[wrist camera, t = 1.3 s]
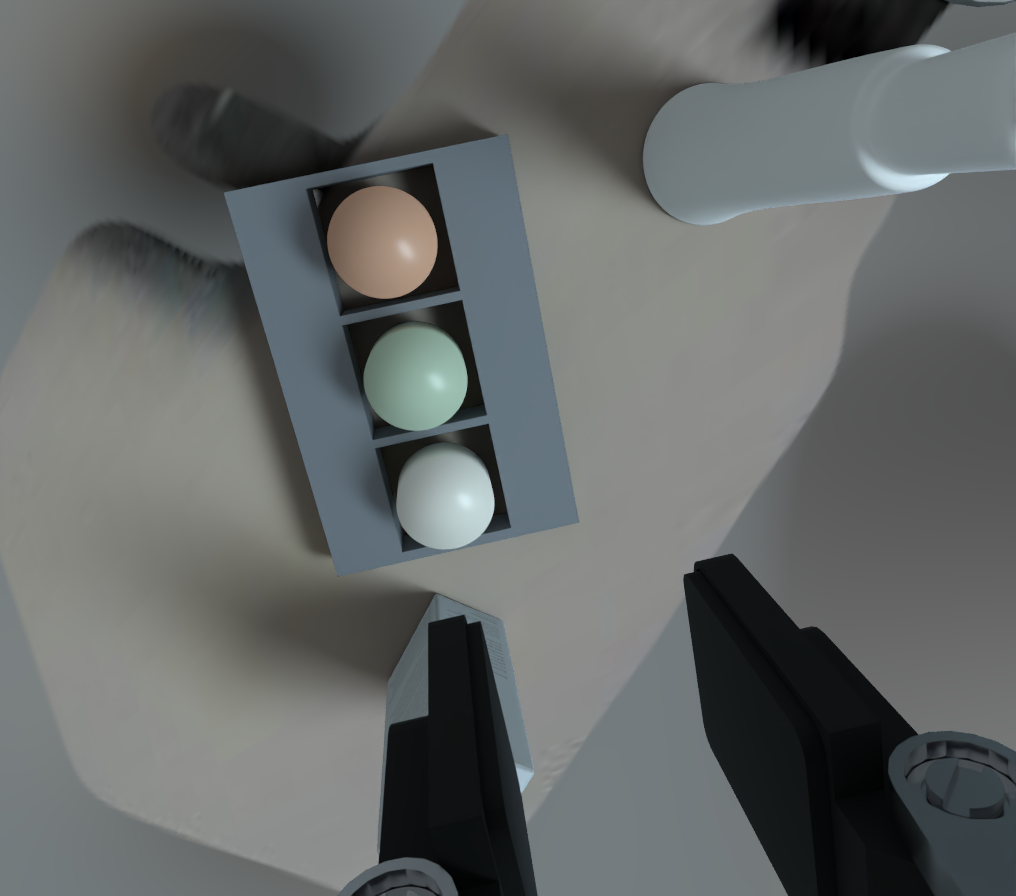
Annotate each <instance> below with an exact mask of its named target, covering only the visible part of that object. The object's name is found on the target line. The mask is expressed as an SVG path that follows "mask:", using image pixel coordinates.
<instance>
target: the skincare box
mask: <svg viewBox="0 0 1016 896" xmlns="http://www.w3.org/2000/svg"><path fill="white" fill-rule="evenodd" d="M460 615H465V617H466V620H467V624H469V623H473V622H478V621H481V624H482V628H483V632H484V636H485V640H486V644H487V648H488V653H489V657H490V661H491V665H492V669H493V674H494V678H495V682H496V686H497V691H498V695H499V699H500V703H501V707H502V712H503V716H504V720H505V724H506V728H507V733H508V737H509V741H510V745H511V749H512V754H513V758H514V762H515V766H516V771H517V775H518V780H519V785H520V791H521V794H522V792H523V790H524V789H525V787H526V785H527V784H528V782H529V780H530V779H531V777H532V776H533V774H534V767H533V762H532V757H531V752H530V748H529V743H528V738H527V733H526V729H525V724H524V719H523V714H522V709H521V704H520V700H519V695H518V690H517V685H516V680H515V675H514V670H513V665H512V661H511V656H510V651H509V646H508V641H507V637H506V632H505V627H504V623H503V622H502V621H501V620H500V619H497V618H494V617H492V616H489V615H487V614H484V613H482V612H480V611H477V610H475V609H472V608H470V607H467V606H465V605H462V604H460V603H458V602H456V601H453V600H451V599H449V598H446V597H444V596H442V595H439V594H435V595H434V597H433V599H432V601H431V603H430V605H429V607H428V609H427V610H426V612H425V614H424V616H423V618H422V620H421V621H420V623H419V625H418V627H417V629H416V631H415V632H414V634H413V636H412V638H411V640H410V642H409V644H408V646H407V647H406V649H405V651H404V653H403V655H402V657H401V658H400V660H399V662H398V664H397V666H396V668H395V670H394V671H393V673H392V675H391V677H390V679H389V681H388V686H387V702H386V718H385V735H384V751H383V766H382V781H381V797H380V810H379V824H378V844H377V852H378V854H379V852H380V838H381V824H382V810H383V797H384V783H385V769H386V755H387V741H388V731H389V726H390V725H391V724H393V723H397V722H401V721H406V720H410V719H414V718H419V717H423V716H427V715H428V623H429V622H433V621H438V620H442V619H446V618H451V617H455V616H460Z"/></svg>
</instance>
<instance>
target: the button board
mask: <svg viewBox="0 0 1016 896" xmlns="http://www.w3.org/2000/svg"><path fill="white" fill-rule="evenodd" d="M430 165H433V169H434V174H435V178H436V183H437V188H438V192H439V197H440V202H441V206H442V211H443V216H444V220H445V225H446V230H447V234H448V239H449V244H450V248H451V253H452V258H453V262H454V267H455V272H456V276H457V281H458V287H453V288H448V289H444V290H439V291H434V292H430V293H425V294H420V295H415V296H411V297H406V298H401V299H397V300H392V301H387V302H382V303H378V304H373V305H368V306H364V307H359V308H354V309H350V310H345V311H344V308H343V304H342V300H341V297H340V293H339V289H338V285H337V281H336V277H335V274H334V270H333V266H332V262H331V259H330V256H329V252H328V247H327V243H326V239H325V236H324V232H323V228H322V224H321V220H320V217H319V213H318V209H317V205H316V201H315V198H314V194H313V189H318V188H323V187H328V186H333V185H338V184H343V183H347V182H352V181H357V180H362V179H367V178H372V177H376V176H381V175H386V174H391V173H396V172H401V171H405V170H410V169H415V168H420V167H425V166H430ZM224 196H225V199H226V202H227V205H228V209H229V213H230V216H231V219H232V223H233V225H234V229H235V233H236V236H237V239H238V243H239V246H240V250H241V253H242V256H243V260H244V263H245V266H246V270H247V273H248V276H249V280H250V283H251V286H252V290H253V293H254V297H255V300H256V303H257V307H258V310H259V313H260V317H261V320H262V323H263V327H264V330H265V334H266V337H267V340H268V344H269V347H270V350H271V354H272V357H273V360H274V364H275V367H276V371H277V374H278V377H279V381H280V384H281V387H282V391H283V394H284V397H285V401H286V404H287V408H288V411H289V414H290V418H291V421H292V424H293V428H294V431H295V434H296V438H297V441H298V445H299V448H300V451H301V455H302V458H303V461H304V465H305V468H306V471H307V475H308V478H309V481H310V485H311V488H312V492H313V495H314V498H315V502H316V505H317V508H318V512H319V515H320V518H321V522H322V525H323V529H324V532H325V535H326V539H327V542H328V545H329V549H330V552H331V555H332V559H333V562H334V566H335V569H336V572H337V576H343V575H347V574H352V573H356V572H361V571H365V570H369V569H374V568H378V567H383V566H387V565H392V564H396V563H401V562H405V561H410V560H414V559H418V558H423V557H427V556H432V555H436V554H441V553H445V552H450V551H454V550H459V549H463V548H467V547H472V546H476V545H481V544H485V543H490V542H494V541H499V540H503V539H508V538H512V537H516V536H521V535H525V534H530V533H534V532H539V531H543V530H548V529H552V528H557V527H561V526H565V525H570V524H574V523H579V519H578V514H577V508H576V503H575V498H574V492H573V487H572V481H571V476H570V470H569V465H568V459H567V454H566V449H565V443H564V438H563V432H562V427H561V421H560V416H559V411H558V405H557V400H556V394H555V389H554V383H553V378H552V372H551V367H550V362H549V356H548V351H547V345H546V340H545V334H544V329H543V323H542V318H541V313H540V307H539V302H538V296H537V291H536V285H535V280H534V275H533V269H532V264H531V258H530V253H529V247H528V242H527V236H526V231H525V226H524V220H523V215H522V209H521V204H520V198H519V193H518V187H517V182H516V177H515V171H514V166H513V160H512V155H511V149H510V144H509V139H508V134H506V135H501V136H496V137H491V138H486V139H481V140H477V141H472V142H467V143H462V144H457V145H452V146H447V147H443V148H438V149H433V150H428V151H423V152H418V153H413V154H409V155H404V156H399V157H394V158H389V159H384V160H379V161H375V162H370V163H365V164H360V165H355V166H350V167H345V168H341V169H336V170H331V171H326V172H321V173H316V174H311V175H307V176H302V177H297V178H292V179H287V180H282V181H277V182H273V183H268V184H263V185H258V186H253V187H248V188H243V189H239V190H234V191H229V192H224ZM459 300H462V304H463V309H464V314H465V318H466V323H467V327H468V332H469V337H470V341H471V346H472V351H473V355H474V360H475V365H476V369H477V374H478V379H479V383H480V388H481V393H482V397H483V402H484V405H481V406H476V407H472V408H467V409H463V410H458V411H457V412H456V413H455V414H454V415H453V416H452V417H451V418H450V419H449V420H447V421H446V422H444V423H443V424H441V425H439V426H437V427H434V428H431V429H428V430H421V431H412V430H405V429H401V428H398V427H395V426H393V425H389V426H385V427H380V428H375V426H374V422H373V418H372V414H371V411H370V407H369V403H368V399H367V396H366V393H365V388H364V384H363V380H362V376H361V373H360V369H359V365H358V361H357V357H356V354H355V350H354V346H353V342H352V338H351V335H350V331H349V327H348V324H351V323H356V322H361V321H365V320H370V319H375V318H379V317H384V316H389V315H394V314H398V313H403V312H408V311H412V310H417V309H422V308H426V307H431V306H436V305H440V304H445V303H450V302H455V301H459ZM484 424H488V425H489V430H490V435H491V439H492V444H493V449H494V453H495V458H496V463H497V467H498V472H499V477H500V481H501V486H502V491H503V495H504V500H505V505H506V509H507V513H503V514H499V515H494V516H492V519H491V521H490V523H489V525H488V527H487V528H486V529H485V531H484V532H483V533H482V534H481V535H480V536H479V537H478V538H477V539H475V540H474V541H472V542H471V543H469V544H467V545H465V546H462V547H459V548H455V549H444V550H443V549H435V548H430V547H427V546H425V545H423V544H420V543H419V542H417V541H416V540H414V539H413V538H412V537H411V536H410V535H405V536H403V532H402V529H401V525H400V521H399V518H398V514H397V510H396V506H395V502H394V498H393V494H392V490H391V487H390V483H389V479H388V475H387V471H386V468H385V464H384V460H383V456H382V452H381V449H380V447H384V446H388V445H393V444H397V443H402V442H407V441H411V440H416V439H420V438H425V437H429V436H434V435H438V434H443V433H448V432H452V431H457V430H461V429H466V428H470V427H475V426H480V425H484Z"/></svg>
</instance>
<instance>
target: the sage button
mask: <svg viewBox="0 0 1016 896" xmlns="http://www.w3.org/2000/svg"><path fill="white" fill-rule="evenodd" d="M364 388H365V393H366V396H367V399H368V401H369V403H370V405H371V406H372V408H373V409H374V411H375V412H376V413H377V414H378V415H379V416H380V417H381V418H382V419H383V420H385V421H386V422H388V423H389V424H391V425H393V426H395V427H398V428H401V429H405V430H412V431H421V430H428V429H431V428H434V427H437V426H439V425H441V424H443V423H444V422H446V421H447V420H449V419H450V418H451V417H452V416H453V415H454V414H455V413H456V412H457V410H458V409H459V408H460V406H461V404H462V402H463V400H464V398H465V395H466V391H467V371H466V367H465V362H464V358H463V355H462V352H461V350H460V348H459V346H458V344H457V343H456V341H455V340H454V339H453V338H452V337H451V336H450V335H449V334H448V333H447V332H446V331H444V330H443V329H441V328H439V327H438V326H435V325H433V324H430V323H426V322H419V321H414V322H405V323H402V324H398V325H396V326H394V327H392V328H390V329H389V330H387V331H386V332H385V333H383V334H382V335H381V336H380V337H379V339H378V340H377V341H376V343H375V344H374V346H373V348H372V350H371V353H370V355H369V358H368V361H367V363H366V366H365V371H364Z"/></svg>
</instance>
